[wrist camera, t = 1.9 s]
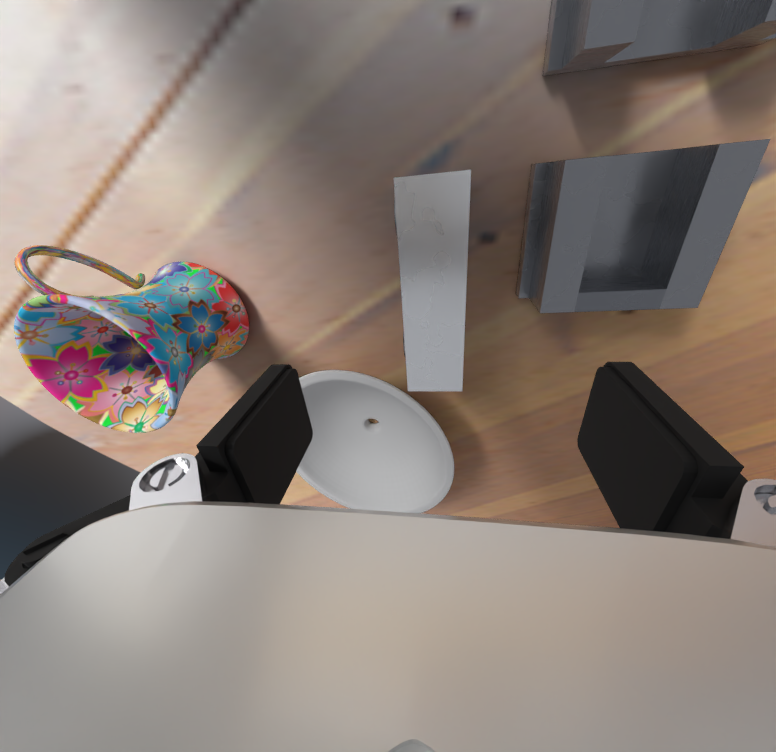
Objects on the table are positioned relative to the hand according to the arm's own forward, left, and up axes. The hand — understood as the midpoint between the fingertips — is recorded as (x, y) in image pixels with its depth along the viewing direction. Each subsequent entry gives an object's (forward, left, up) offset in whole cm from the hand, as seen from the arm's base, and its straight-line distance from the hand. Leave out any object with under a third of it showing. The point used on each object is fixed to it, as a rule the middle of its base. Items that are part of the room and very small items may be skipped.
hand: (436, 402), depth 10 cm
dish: (+14, -6, -16) cm, 22 cm away
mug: (+1, -20, -16) cm, 26 cm away
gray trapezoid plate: (0, 0, -16) cm, 16 cm away
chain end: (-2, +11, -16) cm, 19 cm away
